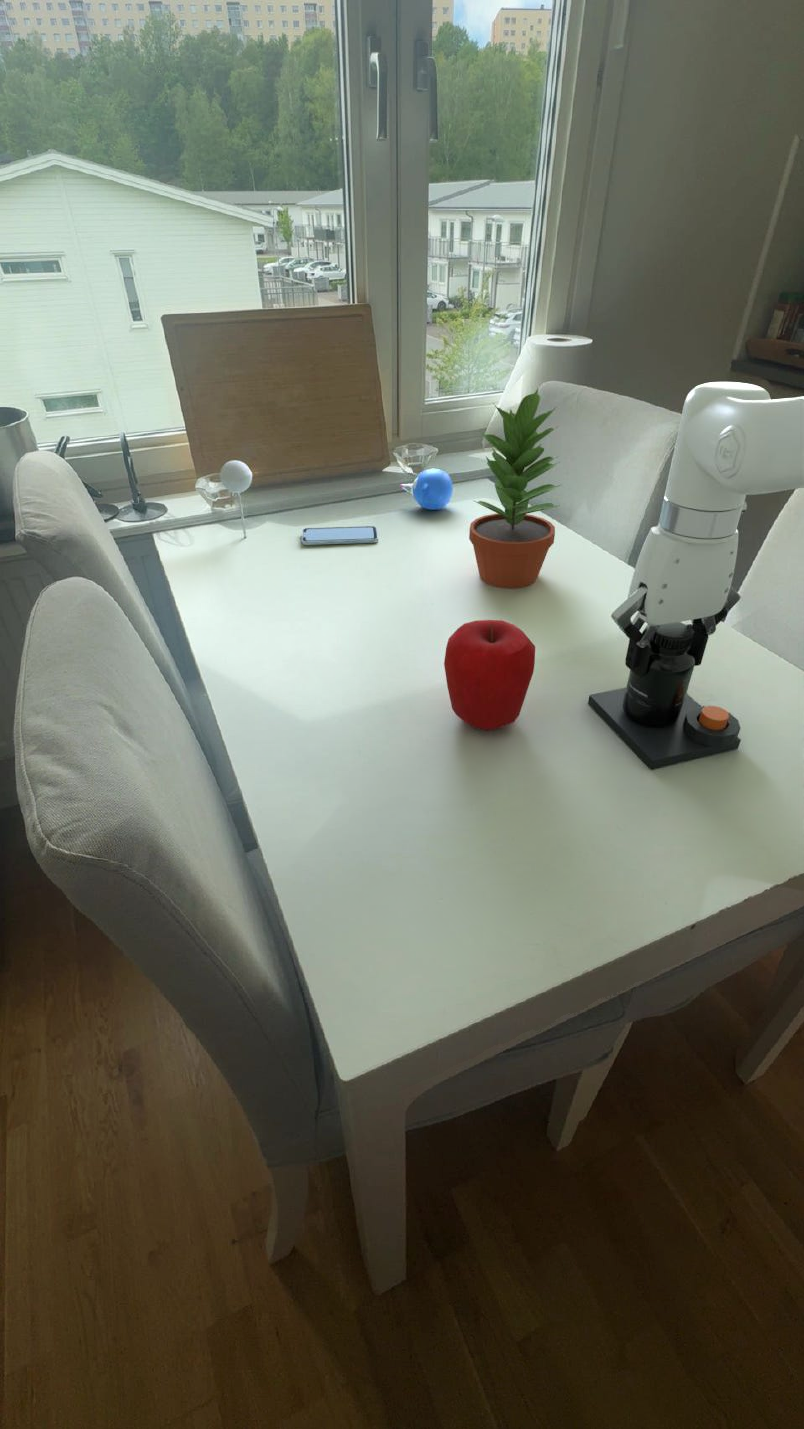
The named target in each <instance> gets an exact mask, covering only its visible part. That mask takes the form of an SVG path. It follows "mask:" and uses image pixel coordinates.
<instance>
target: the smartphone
mask: <svg viewBox="0 0 804 1429" xmlns="http://www.w3.org/2000/svg"><path fill="white" fill-rule="evenodd" d="M378 541H379V535H378V528H377V526H375V525H364V526H362V525H361V526H331V527H328V526H326V527H325V526H324V527H305V528H303V529H302V532H301V544H302V545H304V546H305V545H306V546H312V545H313V546H314V545H315V546H316V545H343V544H344V545H345V544H347V545H348V544H373V543H378Z"/></svg>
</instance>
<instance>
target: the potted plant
mask: <svg viewBox="0 0 804 1429" xmlns="http://www.w3.org/2000/svg"><path fill="white" fill-rule="evenodd" d="M538 392H539V387H537V389H536V390H535V392H534V393H530V394H527V395H525V396H524V397H523V398H522V399H521V401H520V403H519V405H518V408H517V410H516V412H515V413H514V412H513V410H512V409H511V408H510V409H509V412H507V411H505V410H503V409H502V408H501V407H498V406H496V404H495V403H494V402H492V404H493V405H494V407H495V409H496V410H497V411H498V413H499V414H500V416H501V418H502V426H503V433H504V440H503V439H502V438H501V437H499V436H497V435H495V434H485V433H483V432H482V431H480V434H481V435H482V436H483V438H484V439H485V440H486V441H487V442H488V443H490V444H491V446H492V448H491V450H492V451H493V452H492V453H491V456H492V458H493V459H494V460H491V459H489V458H488V457H487V456H485V458H486V461H487V462H486V464H487V466H488V467H489V469H490V470H491V472H492V473H493V475H494V476H495V478H496V479H497V480H498V481H495V482H494V488H495V491H496V494H497V497H498V500H499V502H500V503H501V504H500V505H502V507H503V508H504V510H503V509H501V508H499V507H497V506H495V505H493V504H492V503H489V502H486V501H482V500H479V501H475V500H474V503H476V504H478V505H480V506H482V507H484V508H485V509H488V510H490V511H492V512H494V513H491V514H485V515H483V516H480V517H478V518H475V519H474V520H473V521H472V522H470V524H469V533H468V534H469V535H468V540H469V541H470V543H471V544H472V547H473V551H474V556H475V560H476V565H477V571H478V575H479V578H480V579H481V581H483V582H484V583H485V584H488V585H490V586H492V587H496V588H503V589H520V588H526V587H528V586H531V585H533V584H534V583H535V582H536V581H537V580H538V578H539V575H540V572H541V569H542V567H543V564H544V562H545V559H546V557H547V554H548V552H549V549H550V548H551V547H552V546H553V544H554V543H555V536H556V527H555V525H553V523H552V522H551V521H549V520H547V519H546V518H542V517H541V516H540V517H539V516H536V515H532V514H531V513H536V512H540V511H545V510H550V509H554V508H557V507H560V506H561V505H560V504H559V505H554V503H551V502H545V503H540V504H535V505H532V506H529V503H530V500H532V499H534V498H536V497H539V496H542V495H544V494H546V493H548V492H550V491H553V490H555V489H556V488H559V487H560V486H562V485H563V484H558V485H554V484H552V483H551V484H550V483H548V484H543V485H541V486H538V487H535V488H533V489H531V490H529V491H526V490H525V489H527V487H528V483H530V482H531V481H533V480H535V479H536V478H538V477H539V476H541V475H543V474H545V473H546V472H548V471H549V470H551V469H553V468H554V467H555V466H556V465H558V464H559V463H560V461H558V462H555V463H550V462H552V461H554V460H555V459H557V458H558V456H556V457H553V456H546V457H543V458H541V459H539V458H540V457H541V455H542V454H543V453H544V451H545V447H543V446H542V443H540V444H539V445H538V446H537V447H535V446H536V444H537V443H538V442H539V441H541V440H542V439H544V438H545V437H547V436H548V435H549V434H550V433H552V432H553V431H554V430H555V429H557V428H558V427H559V425H557V426H556V427H549V428H546V429H545V430H544V431H542V432H540V433H538V432H537V430H538V428H539V427H540V426H541V425H542V424H543V423H544V421H546V420H547V418H548V417H549V416H550V415H551V414H552V413H553V412H554V411H555V410H556V408H557V406H555V407H554V408H553V409H552V410H548V411H547V412H544V413H541V414H539V415H538V416H536V413H537V410H538V407H539V404H540V401H541V396H540V395H539V393H538ZM493 447H494V448H493ZM496 450H497V451H498V452H499V453H498V452H496ZM538 459H539V460H538Z"/></svg>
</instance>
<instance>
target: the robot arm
mask: <svg viewBox="0 0 804 1429" xmlns="http://www.w3.org/2000/svg"><path fill="white" fill-rule="evenodd" d="M803 488H804V396H793V397H785V398H775V399H774V398H773V399H772V398H771V396H770V393H769V392H768V391H767V390H766V388H763V387H761V386H758V385H755V384H753V383H745V382H736V381H712V382H705V383H702V384H699V385H696V386H695V387H694V388H692V389H691V390H690V391H689V392H688V394H687V395H686V397H685V399H684V404H683V407H682V411H681V416H680V421H679V426H678V431H677V434H676V441H675V444H674V449H673V454H672V458H671V463H670V468H669V472H668V477H667V482H666V487H665V492H664V497H663V501H662V505H661V510H660V517H659V520H658V524H657V525H656V526H652V527H650V530H649V532H648V534H647V535H646V538H645V540H644V542H643V544H642V547H641V550H640V553H639V554H638V558H637V561H636V563H635V564H636V565H635V567H634V571H633V574H632V577H631V581H630V585H629V589H628V594H627V599H626V600H624V602H622V603H621V604H620V605H618V607H617V608H616V609H615V610H613V611H612V612H611V615H610V617H611V619H612V620H613V622H614V623H615V624H616V625H617V626H618V628H619V630H620V631H622V633H623V634H624V635H625V636H626V637H627V638H628V639H629V641H628V646H627V650H626V655H625V660H624V661H625V662H624V664H625V667H627V668H628V669H629V671H630V670H631V671H632V672H634V673H635V674H636V675H637V676H638V677H644V676H645V675H646V671H647V667H648V662H649V658H650V654H651V647H650V646H649V645H648V643H649V642H650V640H651V639H652V637H653V636H654V634H655V633H656V631H657V630H658V628H659V627H660V625H666V624H671V623H677V622H687V621H691V623H688V624H687V625H689V626H690V627H691V628H692V629H693V631H694V635H693V639H692V645H691V648H690V649H691V650H692V652H693V654H694V656H695V665H694V667H698V666H701V665H702V662H703V658H704V656H705V655H704V654H705V652H706V651H705V650H706V647H707V644H708V641H709V636H712V635H713V634H714V633H715V632H716V631H717V625H718V624H719V623H721V622H722V621H723V620H724V619H725V618H726V617H727V615H728V611H731V610H732V609H733V608H734V606H735V605H736V604H737V603H738V602H739V601H740V600H741V595H740V594H739V593H738V591H736V590H735V588H734V587H733V586H732V582H733V578H734V572H735V568H736V563H737V556H738V548H739V547H738V546H739V530H738V525H739V522H740V518H741V514H744V513H745V512H746V511H747V507H748V503H747V501H746V497H747V496H754V495H755V496H757V495H765V494H772V493H779V492H784V491H790V490H797V489H803ZM635 614H636V615H635ZM634 615H635V616H634ZM633 616H634V618H633V620H632V617H633ZM645 623H646V624H647V625H645V627H644V629H643V631H642V632H641V629H642V628H643V626H644V624H645Z"/></svg>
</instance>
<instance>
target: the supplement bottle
mask: <svg viewBox="0 0 804 1429" xmlns="http://www.w3.org/2000/svg"><path fill="white" fill-rule="evenodd" d="M693 635H694V631H693V629H692V628H691V627H690V626H689V625H688V624H687V623H686V622H685V621H682V622H677V623H671V624H666V625H660V627H659V628H658V630H657V631H656V633H655V634H654V636H653V637H652V639H651V640H650V642H649V643H648V645H649V646H650V647H651V654H650V658H649V662H648V667H647V671H646V675H645V676H644V677H638V676H637V675H636V674H635V673H634V672H632V671H631V670H630V669H629V675H628V678H627V682H626V687H625V688H626V691H625V695H624V700H623V710H624V713H625V714H626V715H627V717H628V718H630V719H631V720H632V721H634V722H635V723H637V724H640V725H643V726H646V727H652V728H662V727H667V726H670V725H672V724H673V723H675V722H676V721H677V720H678V718H679V715H680V712H681V709H682V706H683V703H684V699H685V696H686V694H688V693H687V692H688V689H689V685H690V682H691V679H692V675H693V673H694V669H695V666H694V665H695V656H694V654H693V652H692V650H691V649H690V648H691V645H692V639H693Z"/></svg>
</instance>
